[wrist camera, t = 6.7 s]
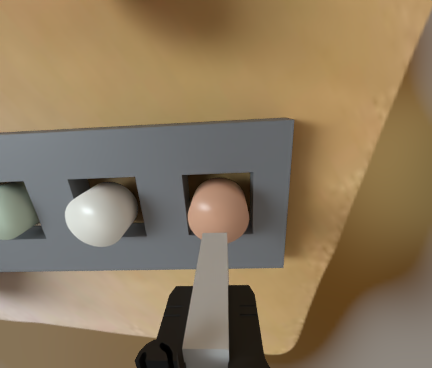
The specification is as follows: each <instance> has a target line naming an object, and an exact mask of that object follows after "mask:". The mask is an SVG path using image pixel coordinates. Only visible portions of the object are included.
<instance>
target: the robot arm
mask: <svg viewBox="0 0 432 368" xmlns="http://www.w3.org/2000/svg"><path fill="white" fill-rule="evenodd" d="M135 363H136V366H137V368H270V367H269V365H268V363H267V361H266V359H265V356H264V352H263V346H262V339H261V333H260V326H259V320H258V313H257V307H256V300H255V294H254V293H253V291H252V289H251V288H250V286H249V285H229V273H228V244H227V233H203V234H202V239H201V245H200V251H199V256H198V262H197V268H196V273H195V279H194V285H193V286H176V287H175V289H174V290H173V291H172V293H171V294H170V295H169V298H168V302H167V305H166V309H165V312H164V317H163V319H162V322H161V326H160V329H159V333H158V336H157V339H156V340H153V341H151V342H149V343H148V344H146V345H145V346H144V347H143V348H142V349H141V350H140V352H139V353H138V355H137V357H136V359H135Z"/></svg>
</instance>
